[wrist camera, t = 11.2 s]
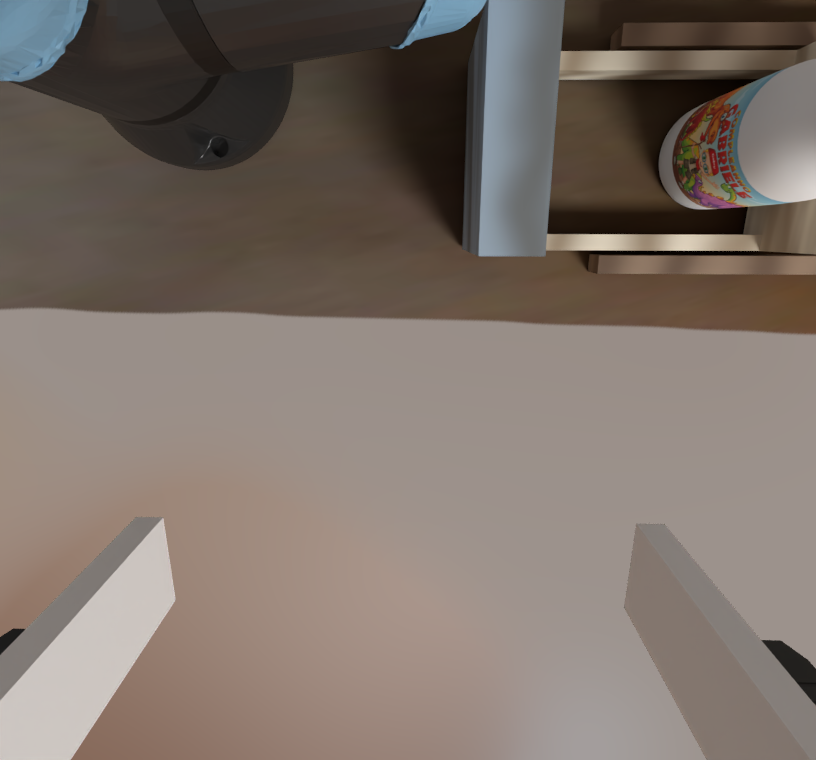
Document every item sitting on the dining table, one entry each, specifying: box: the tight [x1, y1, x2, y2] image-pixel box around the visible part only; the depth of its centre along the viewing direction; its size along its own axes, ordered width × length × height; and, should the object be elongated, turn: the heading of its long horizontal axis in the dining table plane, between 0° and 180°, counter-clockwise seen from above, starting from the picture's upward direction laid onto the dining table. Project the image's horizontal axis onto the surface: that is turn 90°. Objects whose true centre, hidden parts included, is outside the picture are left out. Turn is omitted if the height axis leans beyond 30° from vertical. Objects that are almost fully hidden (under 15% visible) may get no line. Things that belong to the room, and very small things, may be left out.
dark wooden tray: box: [588, 22, 816, 275], centre depth 39 cm, size 27×17×2 cm, turn 90°
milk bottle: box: [659, 59, 816, 209], centre depth 31 cm, size 8×8×20 cm
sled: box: [462, 0, 816, 256], centre depth 34 cm, size 24×14×12 cm, turn 90°
